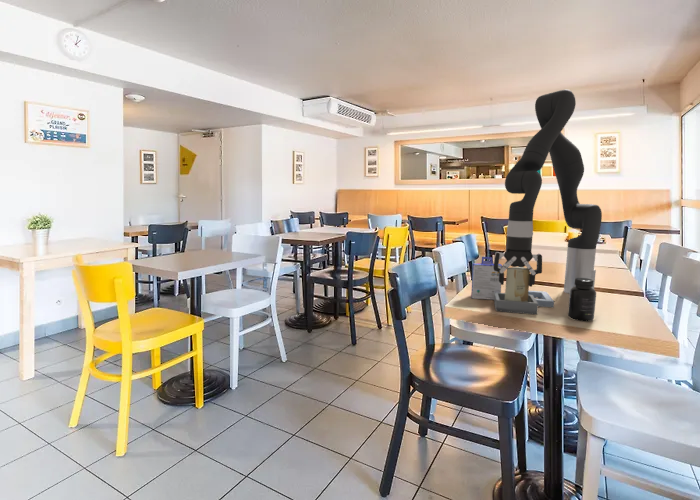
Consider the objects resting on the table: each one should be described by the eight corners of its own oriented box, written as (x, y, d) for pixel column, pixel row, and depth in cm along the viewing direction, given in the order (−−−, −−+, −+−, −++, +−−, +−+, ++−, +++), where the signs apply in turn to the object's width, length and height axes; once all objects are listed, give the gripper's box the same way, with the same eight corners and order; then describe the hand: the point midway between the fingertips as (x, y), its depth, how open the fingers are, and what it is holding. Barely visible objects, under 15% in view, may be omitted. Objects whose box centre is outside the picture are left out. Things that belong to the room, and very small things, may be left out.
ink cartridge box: (498, 296, 148) (501, 257, 146) (501, 300, 142) (503, 259, 140) (470, 295, 150) (472, 255, 148) (471, 298, 144) (473, 258, 142)
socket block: (546, 297, 148) (546, 291, 148) (553, 307, 134) (554, 301, 134) (507, 294, 151) (507, 289, 151) (511, 304, 138) (511, 298, 138)
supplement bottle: (562, 315, 126) (566, 276, 124) (584, 314, 127) (587, 276, 125) (577, 322, 119) (580, 281, 118) (599, 321, 120) (603, 281, 118)
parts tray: (531, 305, 137) (532, 295, 136) (537, 314, 126) (538, 303, 126) (493, 302, 140) (494, 292, 140) (495, 311, 130) (496, 300, 129)
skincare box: (514, 308, 130) (517, 269, 128) (503, 304, 133) (506, 267, 132) (528, 305, 133) (531, 268, 131) (517, 302, 136) (519, 266, 135)
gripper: (542, 234, 131) (538, 284, 134) (495, 233, 135) (492, 281, 138) (546, 237, 124) (542, 289, 127) (496, 235, 128) (493, 286, 130)
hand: (516, 285), depth 132 cm, fingers open, 8 cm apart
